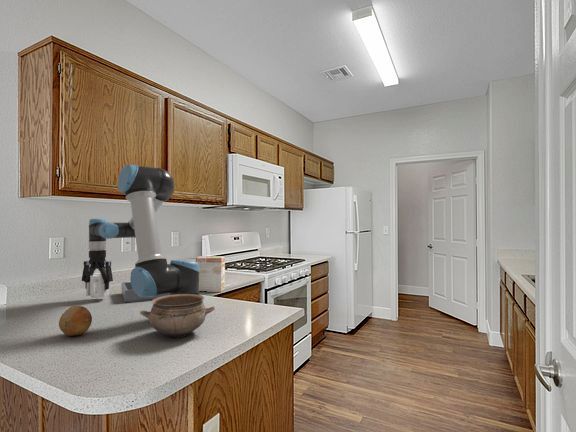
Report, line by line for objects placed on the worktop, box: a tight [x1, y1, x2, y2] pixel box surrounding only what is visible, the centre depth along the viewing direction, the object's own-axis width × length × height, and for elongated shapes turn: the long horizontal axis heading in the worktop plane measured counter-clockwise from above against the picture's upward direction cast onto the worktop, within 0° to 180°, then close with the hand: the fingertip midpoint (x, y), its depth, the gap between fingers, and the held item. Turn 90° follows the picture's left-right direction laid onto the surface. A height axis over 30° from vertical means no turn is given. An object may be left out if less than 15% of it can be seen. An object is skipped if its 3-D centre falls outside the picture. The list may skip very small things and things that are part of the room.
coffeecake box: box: [195, 255, 226, 293], centre depth 193 cm, size 15×7×20 cm, turn 84°
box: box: [121, 281, 170, 304], centre depth 180 cm, size 24×24×6 cm
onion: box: [58, 305, 93, 337], centre depth 117 cm, size 10×10×10 cm
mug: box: [90, 273, 110, 298], centre depth 168 cm, size 12×8×10 cm
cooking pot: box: [139, 294, 215, 338], centre depth 119 cm, size 25×19×12 cm
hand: (97, 295), depth 168 cm, fingers closed on mug, 8 cm apart
